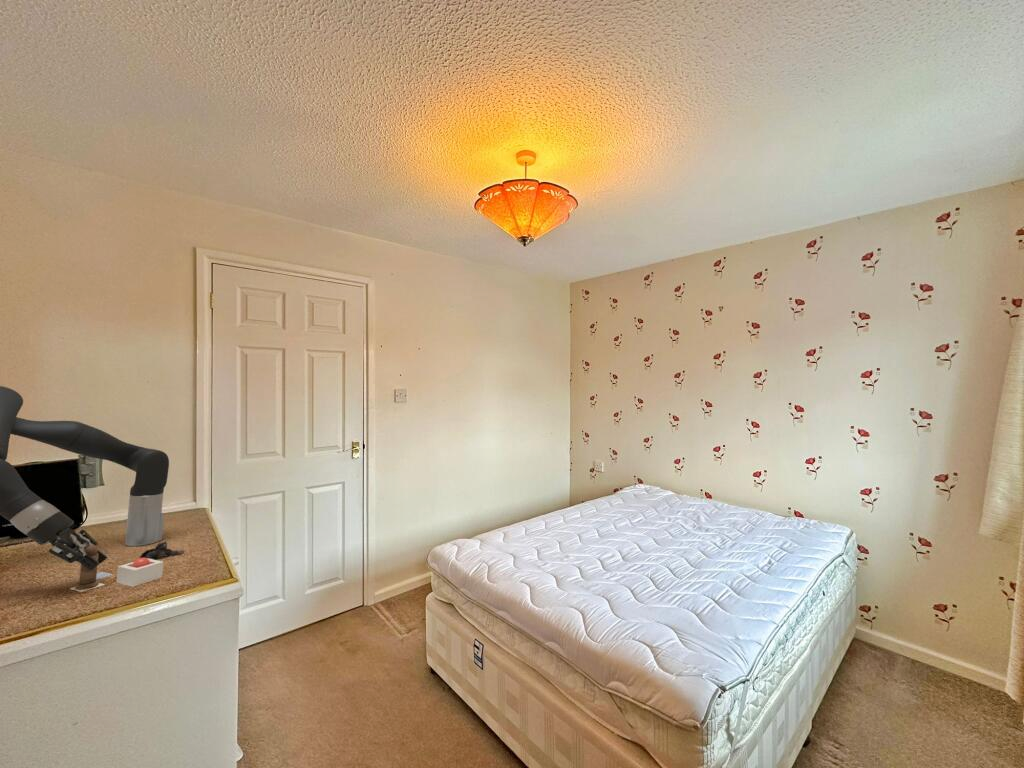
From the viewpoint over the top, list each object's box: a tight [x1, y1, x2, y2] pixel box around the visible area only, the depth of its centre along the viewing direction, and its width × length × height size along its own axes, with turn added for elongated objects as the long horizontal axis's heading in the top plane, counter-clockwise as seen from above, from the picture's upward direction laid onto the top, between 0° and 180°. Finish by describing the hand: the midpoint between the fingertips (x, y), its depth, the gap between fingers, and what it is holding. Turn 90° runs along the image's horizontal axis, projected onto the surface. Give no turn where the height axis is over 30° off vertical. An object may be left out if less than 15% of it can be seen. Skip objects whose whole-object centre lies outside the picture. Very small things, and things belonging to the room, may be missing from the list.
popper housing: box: [116, 558, 164, 588], centre depth 117 cm, size 7×7×4 cm
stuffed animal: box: [139, 541, 186, 560], centre depth 134 cm, size 12×10×12 cm
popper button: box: [132, 557, 151, 568], centre depth 117 cm, size 4×4×5 cm
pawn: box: [74, 545, 100, 591], centre depth 112 cm, size 4×4×11 cm
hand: (99, 563), depth 112 cm, fingers open, 4 cm apart
